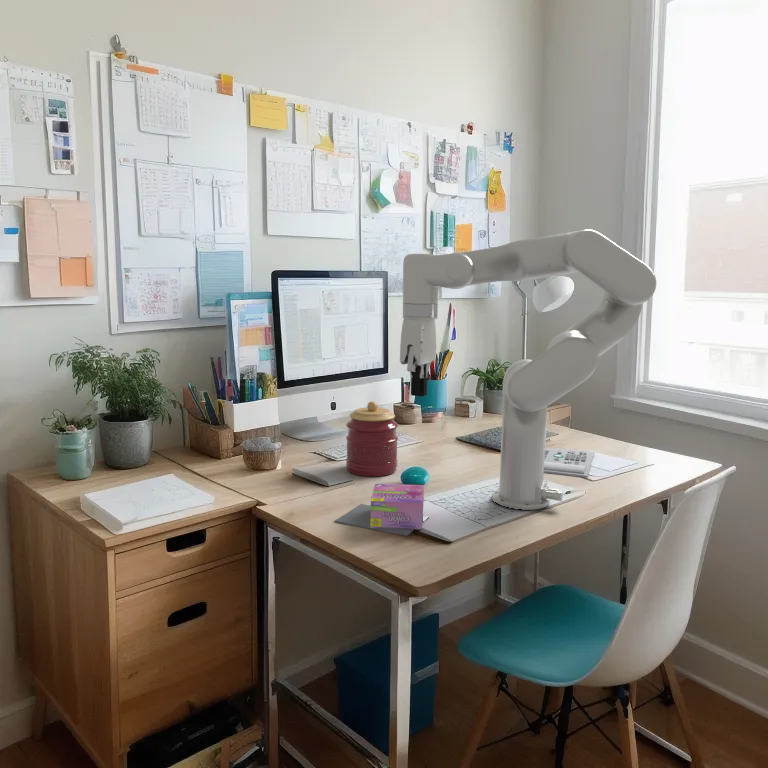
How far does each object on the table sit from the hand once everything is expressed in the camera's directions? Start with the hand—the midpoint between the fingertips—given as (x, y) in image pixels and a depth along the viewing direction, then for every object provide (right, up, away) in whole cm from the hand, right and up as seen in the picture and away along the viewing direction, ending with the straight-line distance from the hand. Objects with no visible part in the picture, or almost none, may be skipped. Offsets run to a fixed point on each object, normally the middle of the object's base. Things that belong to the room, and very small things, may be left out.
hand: (418, 395), depth 160 cm
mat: (-8, -25, -11) cm, 29 cm away
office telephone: (+37, -19, +34) cm, 54 cm away
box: (-4, -21, -6) cm, 22 cm away
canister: (-11, -19, +24) cm, 33 cm away
